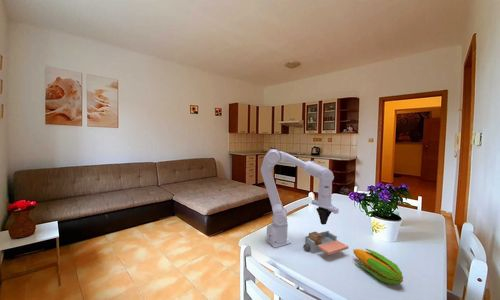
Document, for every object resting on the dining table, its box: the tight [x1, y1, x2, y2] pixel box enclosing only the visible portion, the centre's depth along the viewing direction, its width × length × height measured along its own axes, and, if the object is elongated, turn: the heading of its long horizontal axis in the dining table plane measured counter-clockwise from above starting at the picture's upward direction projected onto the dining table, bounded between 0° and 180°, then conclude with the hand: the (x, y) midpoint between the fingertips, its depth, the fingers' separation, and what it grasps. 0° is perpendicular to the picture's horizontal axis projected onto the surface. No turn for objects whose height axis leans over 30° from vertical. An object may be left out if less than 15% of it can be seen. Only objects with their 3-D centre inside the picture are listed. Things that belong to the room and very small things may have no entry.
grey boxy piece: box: [303, 230, 338, 254], centre depth 98 cm, size 16×5×6 cm, turn 117°
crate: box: [308, 231, 322, 246], centre depth 96 cm, size 4×4×4 cm
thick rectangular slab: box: [318, 240, 349, 256], centre depth 92 cm, size 11×1×6 cm
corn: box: [352, 248, 404, 285], centre depth 81 cm, size 7×8×20 cm
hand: (323, 223), depth 100 cm, fingers closed
